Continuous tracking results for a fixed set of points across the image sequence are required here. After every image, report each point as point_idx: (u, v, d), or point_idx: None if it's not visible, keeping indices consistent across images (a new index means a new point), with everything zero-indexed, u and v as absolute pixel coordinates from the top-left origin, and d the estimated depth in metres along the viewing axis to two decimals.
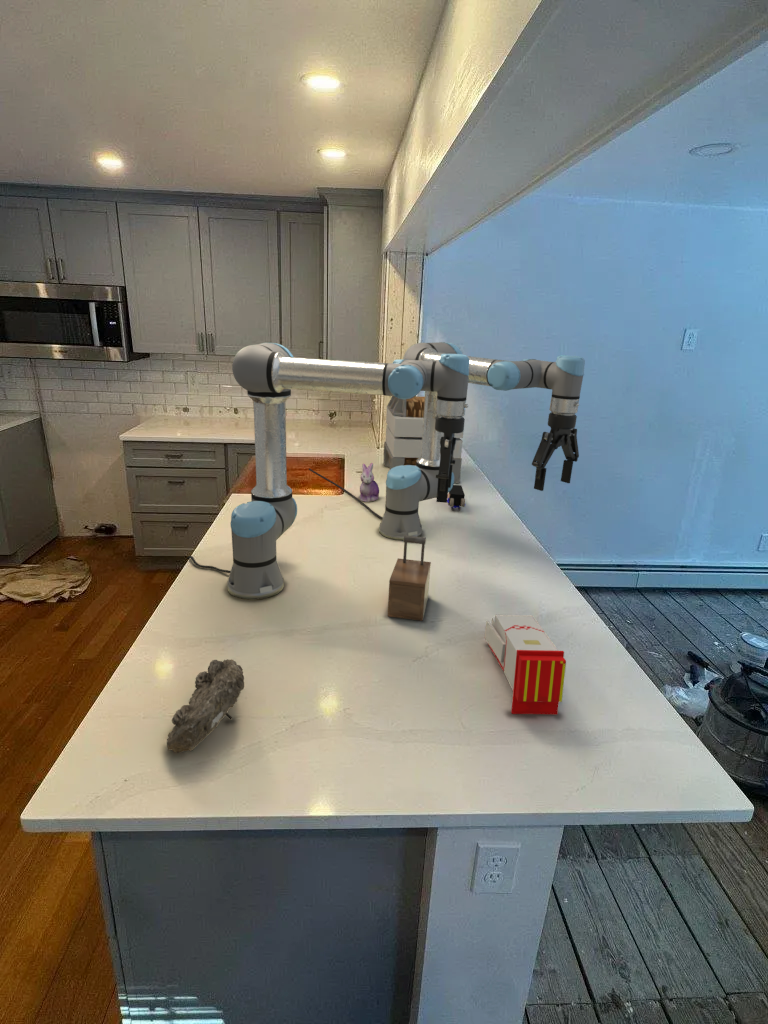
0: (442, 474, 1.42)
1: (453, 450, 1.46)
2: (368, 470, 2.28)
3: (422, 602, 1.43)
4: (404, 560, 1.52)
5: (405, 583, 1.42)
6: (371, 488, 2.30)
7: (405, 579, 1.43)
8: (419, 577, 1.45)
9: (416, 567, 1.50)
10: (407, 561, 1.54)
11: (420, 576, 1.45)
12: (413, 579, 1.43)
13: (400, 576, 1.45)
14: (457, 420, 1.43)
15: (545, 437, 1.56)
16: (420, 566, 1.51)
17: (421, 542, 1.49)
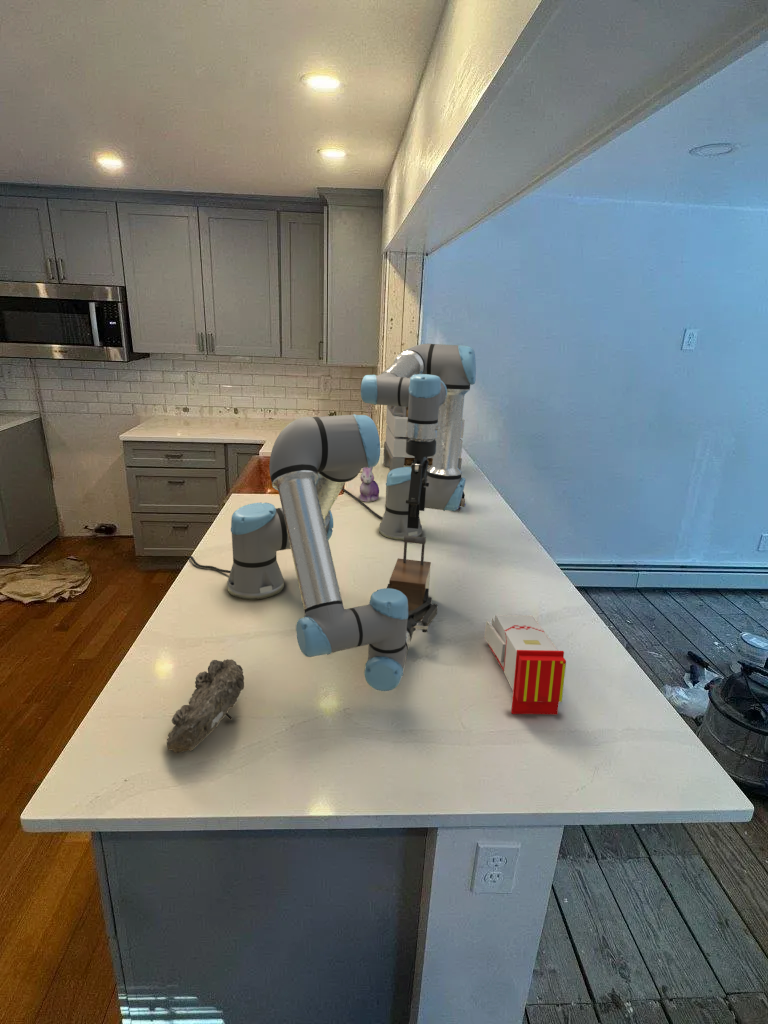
0: None
1: None
2: (368, 470, 2.28)
3: (422, 602, 1.43)
4: (404, 560, 1.52)
5: (405, 583, 1.42)
6: (371, 488, 2.30)
7: (405, 579, 1.43)
8: (419, 577, 1.45)
9: (416, 567, 1.50)
10: (407, 561, 1.54)
11: (420, 576, 1.45)
12: (413, 579, 1.43)
13: (400, 576, 1.45)
14: None
15: (416, 469, 1.36)
16: (420, 566, 1.51)
17: (421, 542, 1.49)
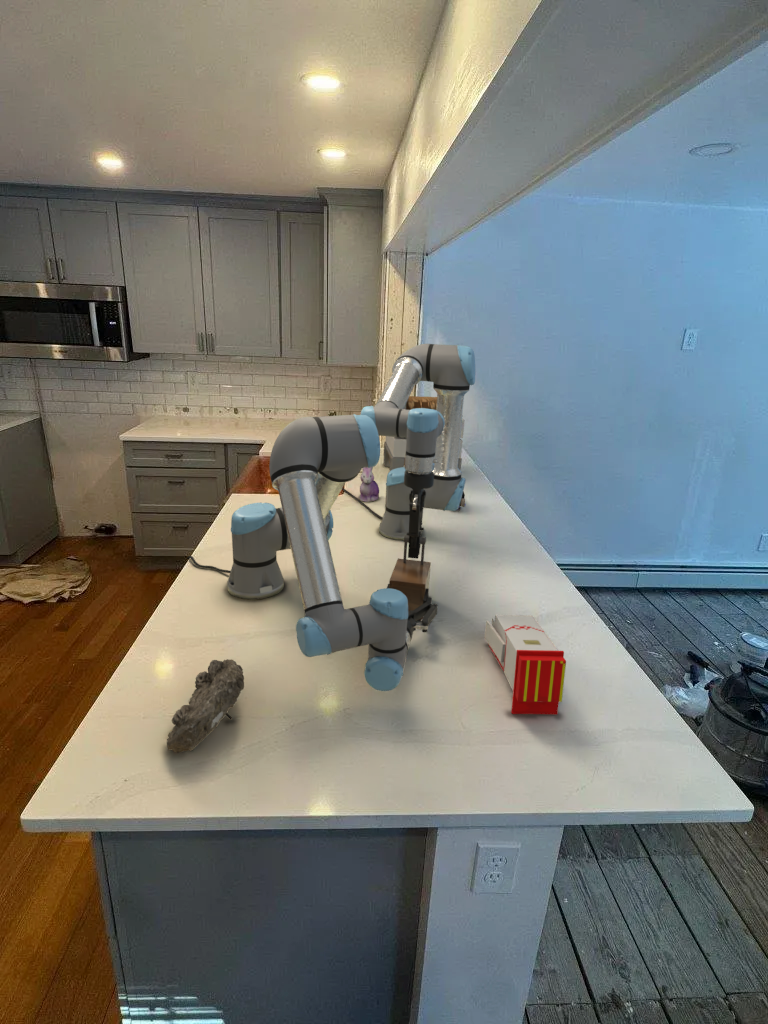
0: None
1: None
2: (368, 470, 2.28)
3: (422, 602, 1.43)
4: (404, 560, 1.52)
5: (405, 583, 1.42)
6: (371, 488, 2.30)
7: (405, 579, 1.43)
8: (419, 577, 1.45)
9: (416, 567, 1.50)
10: (407, 561, 1.54)
11: (420, 576, 1.45)
12: (413, 579, 1.43)
13: (400, 576, 1.45)
14: None
15: (414, 509, 1.41)
16: (420, 566, 1.51)
17: (421, 542, 1.49)
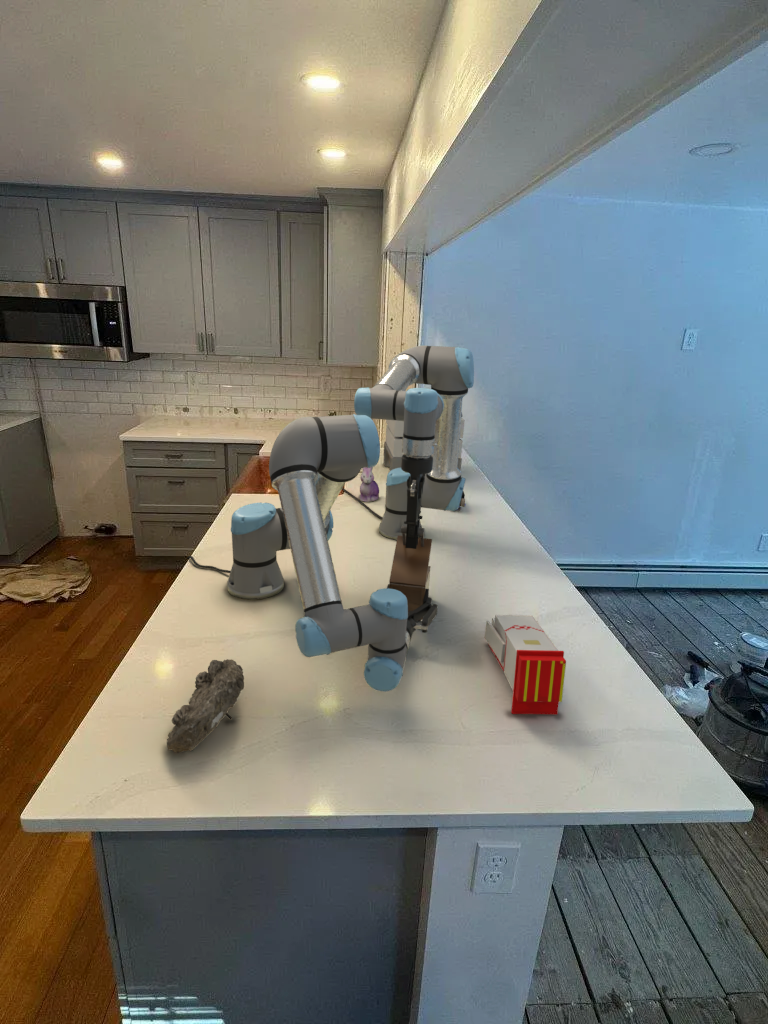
0: None
1: None
2: (368, 470, 2.28)
3: (422, 602, 1.43)
4: (404, 543, 1.47)
5: (405, 584, 1.42)
6: (371, 488, 2.30)
7: (405, 578, 1.42)
8: (419, 572, 1.43)
9: (416, 552, 1.46)
10: None
11: (420, 570, 1.43)
12: (413, 577, 1.42)
13: (400, 572, 1.43)
14: None
15: (411, 495, 1.32)
16: (421, 549, 1.47)
17: (419, 534, 1.41)
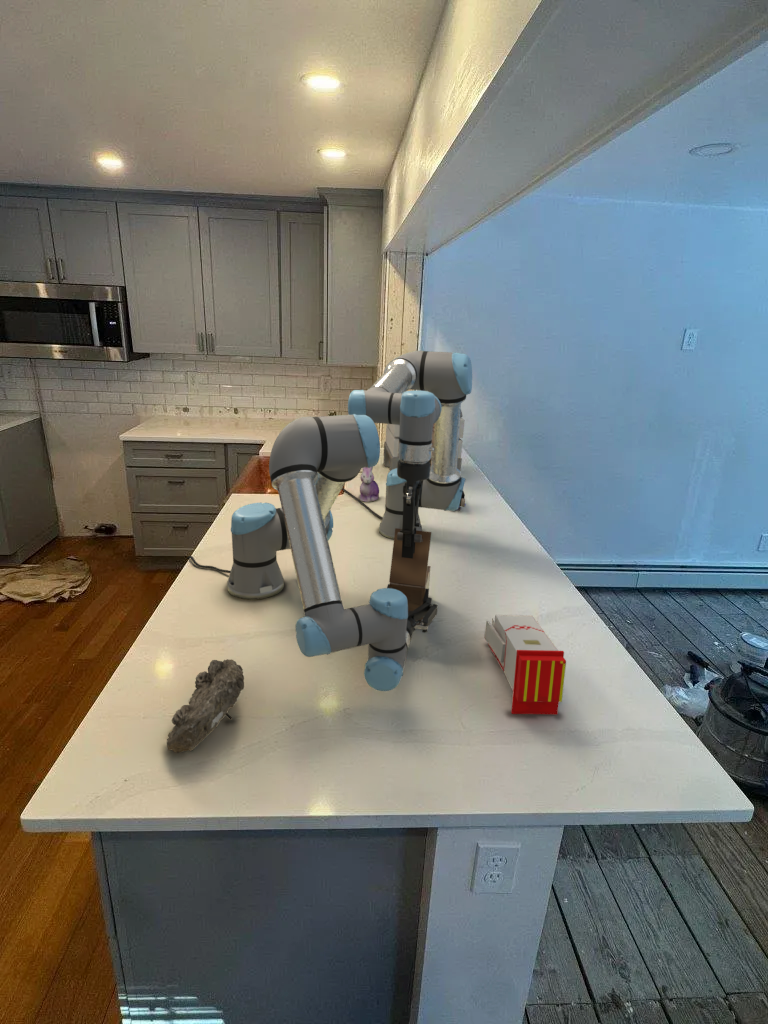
0: None
1: None
2: (368, 470, 2.28)
3: (422, 602, 1.43)
4: None
5: None
6: (371, 488, 2.30)
7: (404, 578, 1.42)
8: (419, 571, 1.41)
9: (415, 548, 1.42)
10: None
11: (420, 569, 1.41)
12: (413, 577, 1.41)
13: (399, 572, 1.42)
14: None
15: (408, 502, 1.26)
16: (419, 545, 1.42)
17: (416, 542, 1.35)
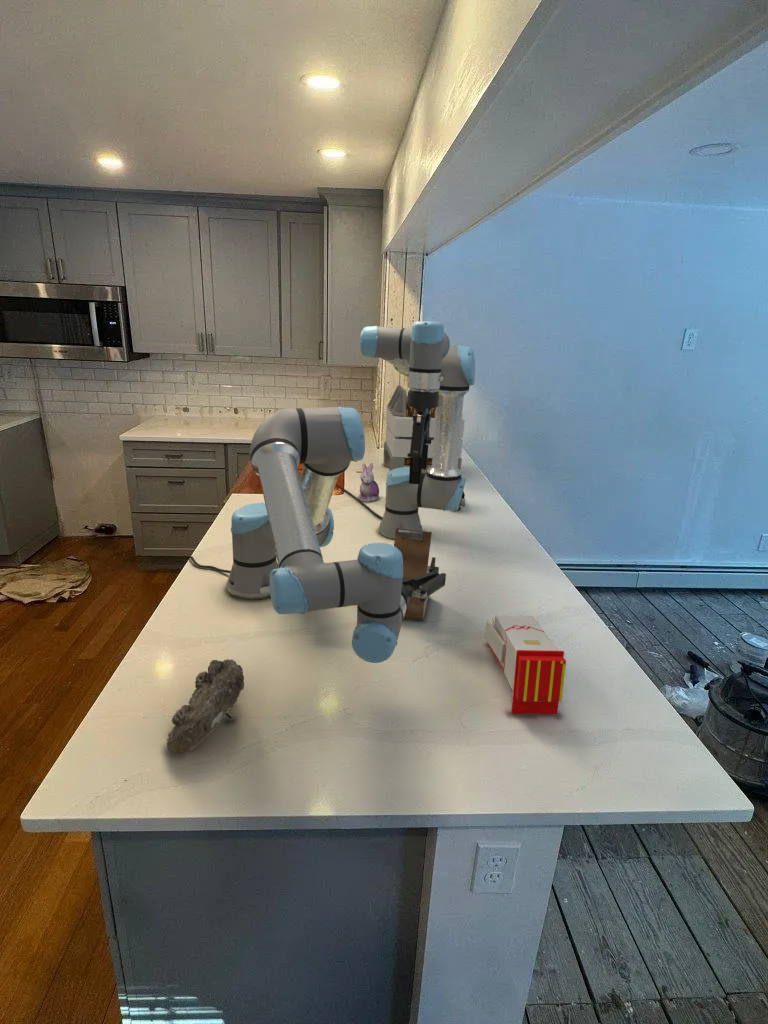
0: None
1: None
2: (368, 470, 2.28)
3: (422, 602, 1.43)
4: (403, 539, 1.43)
5: None
6: (371, 488, 2.30)
7: (404, 577, 1.42)
8: (419, 571, 1.42)
9: (416, 548, 1.43)
10: None
11: (420, 568, 1.42)
12: (413, 576, 1.42)
13: None
14: None
15: (418, 420, 1.30)
16: (420, 544, 1.43)
17: (417, 539, 1.37)
